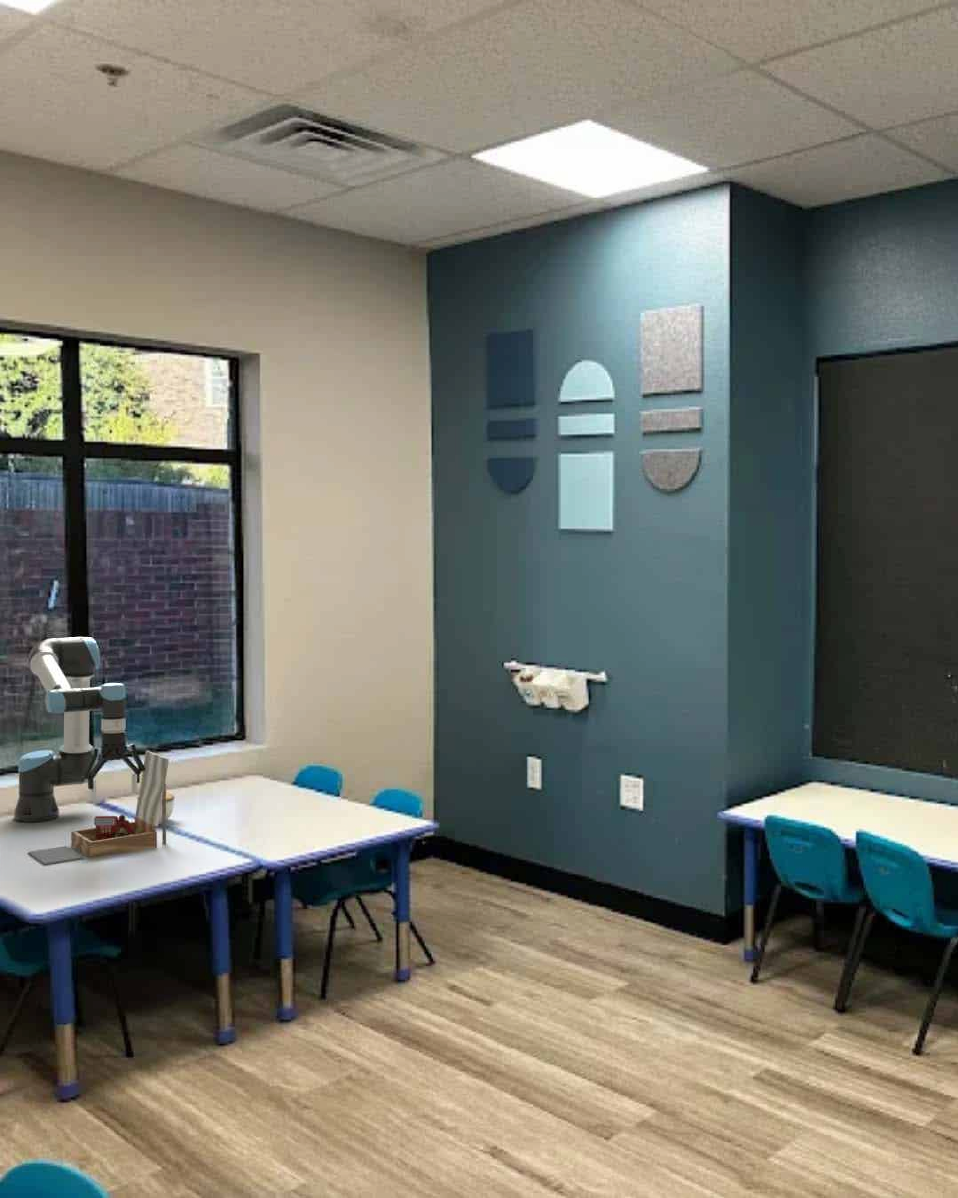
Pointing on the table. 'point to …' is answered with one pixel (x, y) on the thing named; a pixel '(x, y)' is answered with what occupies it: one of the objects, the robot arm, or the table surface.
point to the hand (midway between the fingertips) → (114, 796)
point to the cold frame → (145, 818)
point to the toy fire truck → (112, 827)
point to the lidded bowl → (167, 806)
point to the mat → (55, 855)
